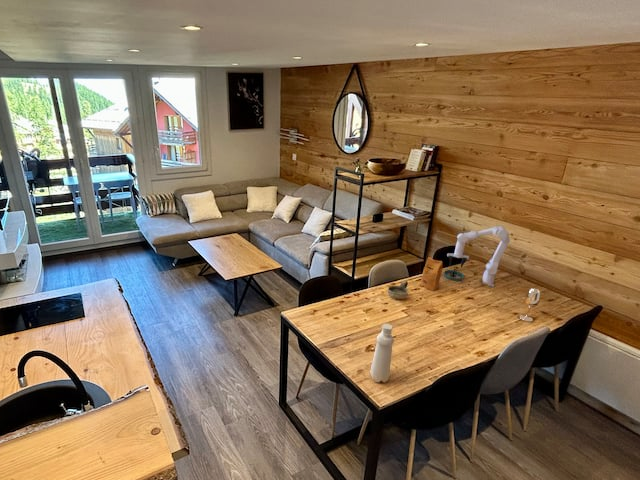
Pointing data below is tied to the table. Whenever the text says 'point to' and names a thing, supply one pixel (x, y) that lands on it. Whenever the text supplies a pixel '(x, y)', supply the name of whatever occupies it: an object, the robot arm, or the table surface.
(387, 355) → the bottle
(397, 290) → the bowl
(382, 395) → the table surface
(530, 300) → the wineglass
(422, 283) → the coffee package
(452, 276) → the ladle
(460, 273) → the teal ring
